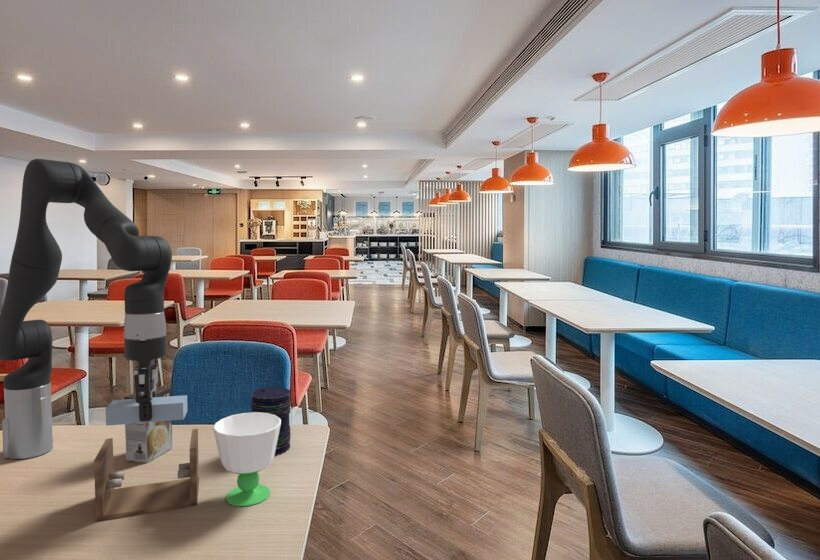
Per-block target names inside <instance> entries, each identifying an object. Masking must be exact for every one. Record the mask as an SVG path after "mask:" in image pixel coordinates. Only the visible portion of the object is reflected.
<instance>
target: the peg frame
mask: <svg viewBox="0 0 820 560" xmlns="http://www.w3.org/2000/svg"><path fill="white" fill-rule="evenodd" d="M190 435H191V436H190V441H189V443H190V444H189V462H184V463H179V464H178V470H177V479H174V480H169V481H160V482H155V483H154V482H153V483H146V484H142V485H141V484H139V485H132V486H126V487H122V481H123V480H124V479H125V471H117V472H116V471H115V472H114V470H115V469H114V442H113V441H114V440H113V439H114V438H113V437H111V438H110V437H109V438H106V439H104V442H103V444H102V445H101V447H100V449H99V451H98V453H97V455H96V456H95V459H93V469H94V471H93V472H94V499H95V500H94V501H95V516H94V517H95V519H94V520H95V522H99V521H104V520H111V519H118V518H125V517H130V516H134V515H135V516H136V515H142V514H149V513H155V512H160V511H166V510H174V509H179V508H185V507H186V508H187V507H191V506H198V503H199V502H198V499H199V487H200V475H199V470H200V469H199V428H193V429H191V433H190Z"/></svg>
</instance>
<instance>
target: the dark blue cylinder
mask: <svg viewBox="0 0 820 560" xmlns="http://www.w3.org/2000/svg"><path fill="white" fill-rule="evenodd" d="M291 404H292V403H291V391H290V389H289V388H287V387H281V386H280V387H279V386H271V387H269V386H268V387H262V388H258V389H256V390H253V391H252V392H251V404H250V405H251V412H250V413H252V412H260V413H269V414H273V415H276V416H277V417H279V418H280V419H281V426H280V431H279V435H278V440H277V445H276V450H275V455H276V456H279V455H278V454H280V455H283V454H285V453H287V452H288V451H289V450H290V449H291V438H292V437H291V426H290V413H291V409H292V408H291ZM289 448H290V449H289ZM288 449H289V450H288ZM287 450H288V451H287ZM286 451H287V452H286ZM284 452H285V453H284ZM282 453H283V454H282ZM275 455H274V457H275Z"/></svg>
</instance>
